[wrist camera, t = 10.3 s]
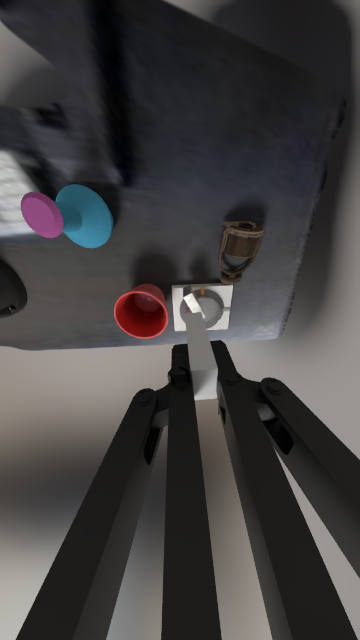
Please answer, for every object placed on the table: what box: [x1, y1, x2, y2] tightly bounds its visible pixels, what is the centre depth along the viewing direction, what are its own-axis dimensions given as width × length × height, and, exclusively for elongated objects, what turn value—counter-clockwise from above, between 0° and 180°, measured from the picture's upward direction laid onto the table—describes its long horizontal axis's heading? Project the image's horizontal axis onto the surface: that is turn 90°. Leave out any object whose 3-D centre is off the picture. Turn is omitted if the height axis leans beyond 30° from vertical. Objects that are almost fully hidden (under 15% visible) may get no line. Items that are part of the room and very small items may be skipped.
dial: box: [183, 285, 221, 329], centre depth 35 cm, size 12×8×7 cm
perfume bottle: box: [21, 184, 113, 248], centre depth 25 cm, size 9×9×15 cm
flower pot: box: [114, 284, 168, 339], centre depth 36 cm, size 11×11×10 cm
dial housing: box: [172, 283, 233, 331], centre depth 40 cm, size 14×12×2 cm
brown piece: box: [218, 221, 265, 285], centre depth 32 cm, size 7×13×10 cm
